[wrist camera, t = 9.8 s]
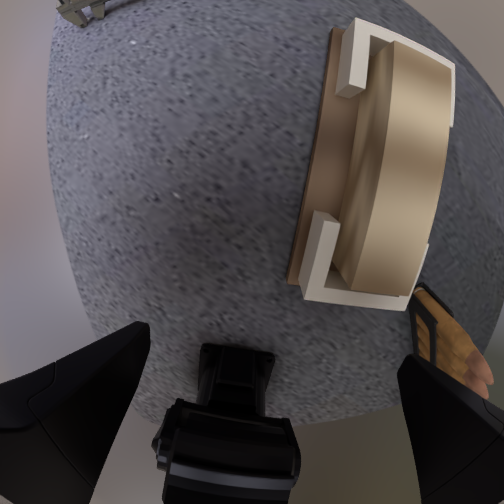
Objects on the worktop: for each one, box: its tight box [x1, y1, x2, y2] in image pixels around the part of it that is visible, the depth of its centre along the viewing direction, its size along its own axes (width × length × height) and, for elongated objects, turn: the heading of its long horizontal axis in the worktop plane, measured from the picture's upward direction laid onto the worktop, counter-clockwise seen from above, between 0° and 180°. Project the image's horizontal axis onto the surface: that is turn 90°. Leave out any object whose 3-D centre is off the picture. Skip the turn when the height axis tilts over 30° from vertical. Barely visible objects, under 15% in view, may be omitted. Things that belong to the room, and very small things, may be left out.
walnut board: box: [286, 27, 373, 286], centre depth 17 cm, size 19×9×1 cm, turn 171°
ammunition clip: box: [408, 283, 494, 400], centre depth 16 cm, size 11×2×12 cm, turn 25°
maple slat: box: [332, 40, 452, 296], centre depth 14 cm, size 14×4×5 cm, turn 171°
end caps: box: [298, 18, 455, 311], centre depth 15 cm, size 18×8×3 cm, turn 171°
